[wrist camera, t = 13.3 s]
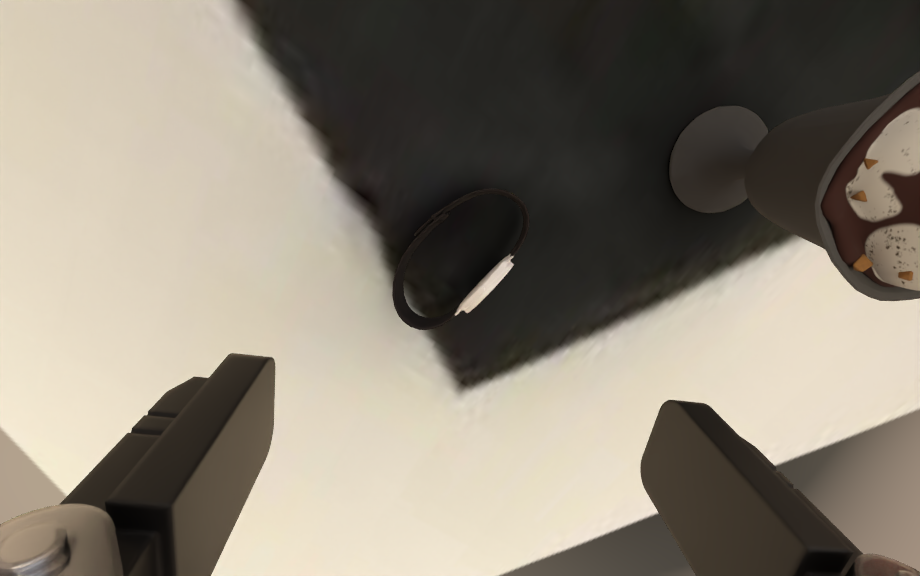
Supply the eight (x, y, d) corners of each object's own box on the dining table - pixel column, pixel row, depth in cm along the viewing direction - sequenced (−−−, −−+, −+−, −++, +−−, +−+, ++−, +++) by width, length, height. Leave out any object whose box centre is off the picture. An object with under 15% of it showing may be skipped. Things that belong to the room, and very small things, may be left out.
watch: (440, 333, 24) (442, 367, 20) (370, 276, 22) (359, 303, 19) (545, 225, 22) (567, 243, 19) (476, 158, 21) (485, 163, 17)
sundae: (708, 256, 23) (1139, 456, 9) (623, 167, 21) (995, 244, 7) (814, 156, 22) (1519, 208, 8) (732, 52, 20) (1455, -128, 6)
